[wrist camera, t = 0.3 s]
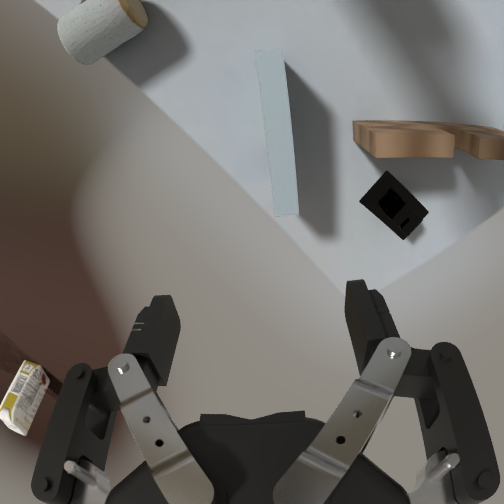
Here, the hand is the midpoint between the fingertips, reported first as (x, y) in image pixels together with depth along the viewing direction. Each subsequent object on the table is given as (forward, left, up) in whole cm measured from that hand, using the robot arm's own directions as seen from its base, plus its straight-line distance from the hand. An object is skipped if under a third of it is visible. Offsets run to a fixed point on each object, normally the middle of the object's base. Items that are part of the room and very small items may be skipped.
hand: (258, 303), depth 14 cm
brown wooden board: (-2, +22, -25) cm, 34 cm away
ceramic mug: (-21, -15, -26) cm, 36 cm away
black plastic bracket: (+8, +17, -26) cm, 32 cm away
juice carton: (+43, -64, -26) cm, 81 cm away
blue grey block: (-4, +2, -25) cm, 26 cm away
